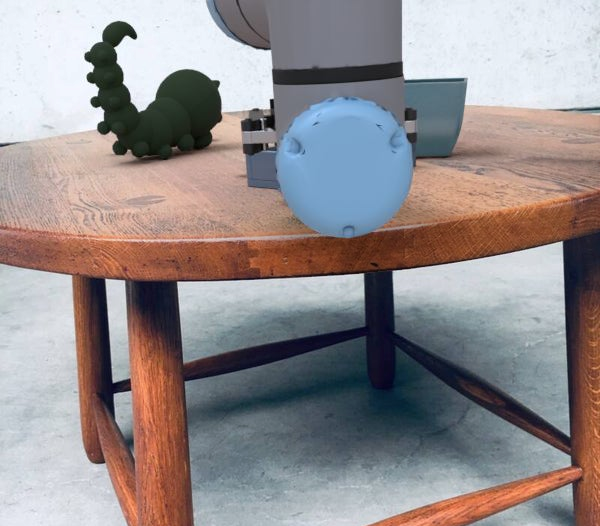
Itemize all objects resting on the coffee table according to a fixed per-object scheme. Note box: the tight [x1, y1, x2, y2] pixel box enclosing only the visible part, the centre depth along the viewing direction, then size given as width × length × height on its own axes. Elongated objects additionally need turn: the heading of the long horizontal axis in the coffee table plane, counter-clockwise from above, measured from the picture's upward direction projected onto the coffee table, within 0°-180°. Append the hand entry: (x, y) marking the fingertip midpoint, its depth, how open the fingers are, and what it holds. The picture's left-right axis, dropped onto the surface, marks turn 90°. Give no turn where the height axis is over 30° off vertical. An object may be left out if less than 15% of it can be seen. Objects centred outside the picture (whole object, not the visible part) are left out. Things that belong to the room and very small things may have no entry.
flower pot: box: [404, 77, 468, 158], centre depth 112 cm, size 9×9×9 cm
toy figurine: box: [83, 20, 223, 160], centre depth 124 cm, size 9×19×25 cm
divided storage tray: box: [244, 143, 417, 190], centre depth 101 cm, size 10×18×4 cm, turn 139°
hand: (321, 112), depth 84 cm, fingers closed on candle, 5 cm apart
